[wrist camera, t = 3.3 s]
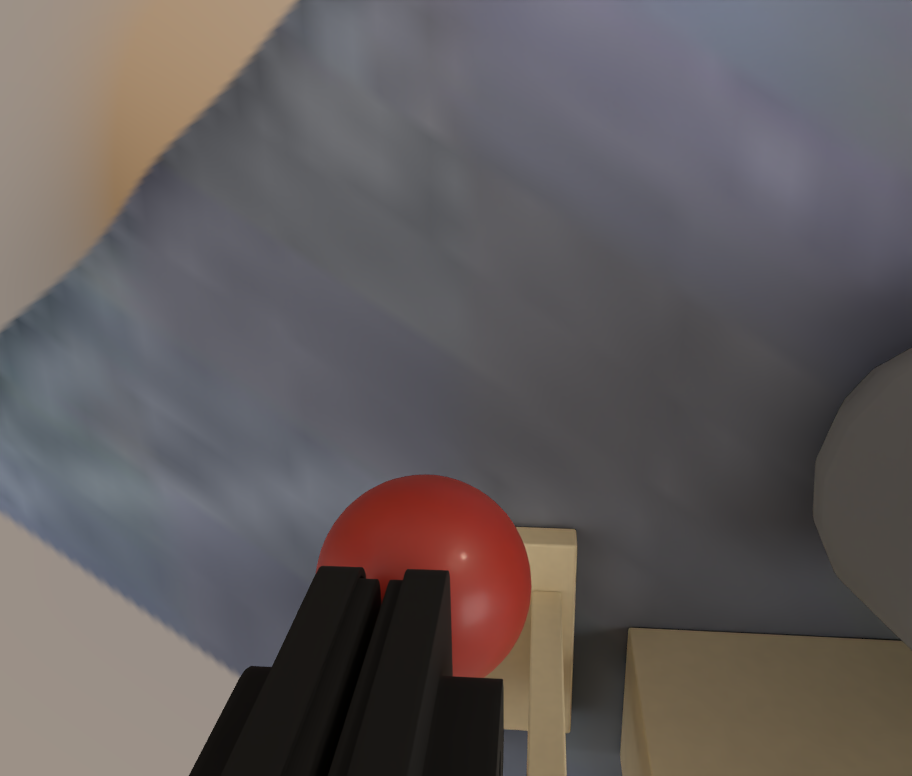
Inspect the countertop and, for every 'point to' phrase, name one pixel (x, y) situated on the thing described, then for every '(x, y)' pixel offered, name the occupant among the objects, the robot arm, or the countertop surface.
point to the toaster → (765, 705)
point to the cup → (871, 493)
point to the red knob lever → (443, 558)
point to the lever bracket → (544, 652)
